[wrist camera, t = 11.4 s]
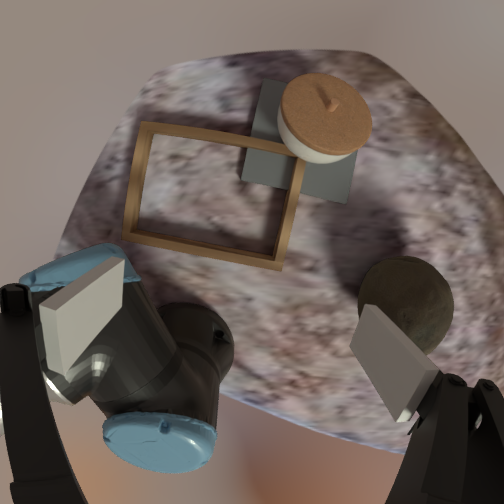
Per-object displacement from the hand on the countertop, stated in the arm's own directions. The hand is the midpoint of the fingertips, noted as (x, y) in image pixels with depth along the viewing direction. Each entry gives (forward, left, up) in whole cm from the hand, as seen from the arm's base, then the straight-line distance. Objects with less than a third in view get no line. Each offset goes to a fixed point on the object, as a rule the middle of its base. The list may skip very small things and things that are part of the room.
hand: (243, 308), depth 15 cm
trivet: (+14, -6, -27) cm, 31 cm away
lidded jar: (+14, -6, -24) cm, 29 cm away
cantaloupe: (-5, -24, -27) cm, 36 cm away
